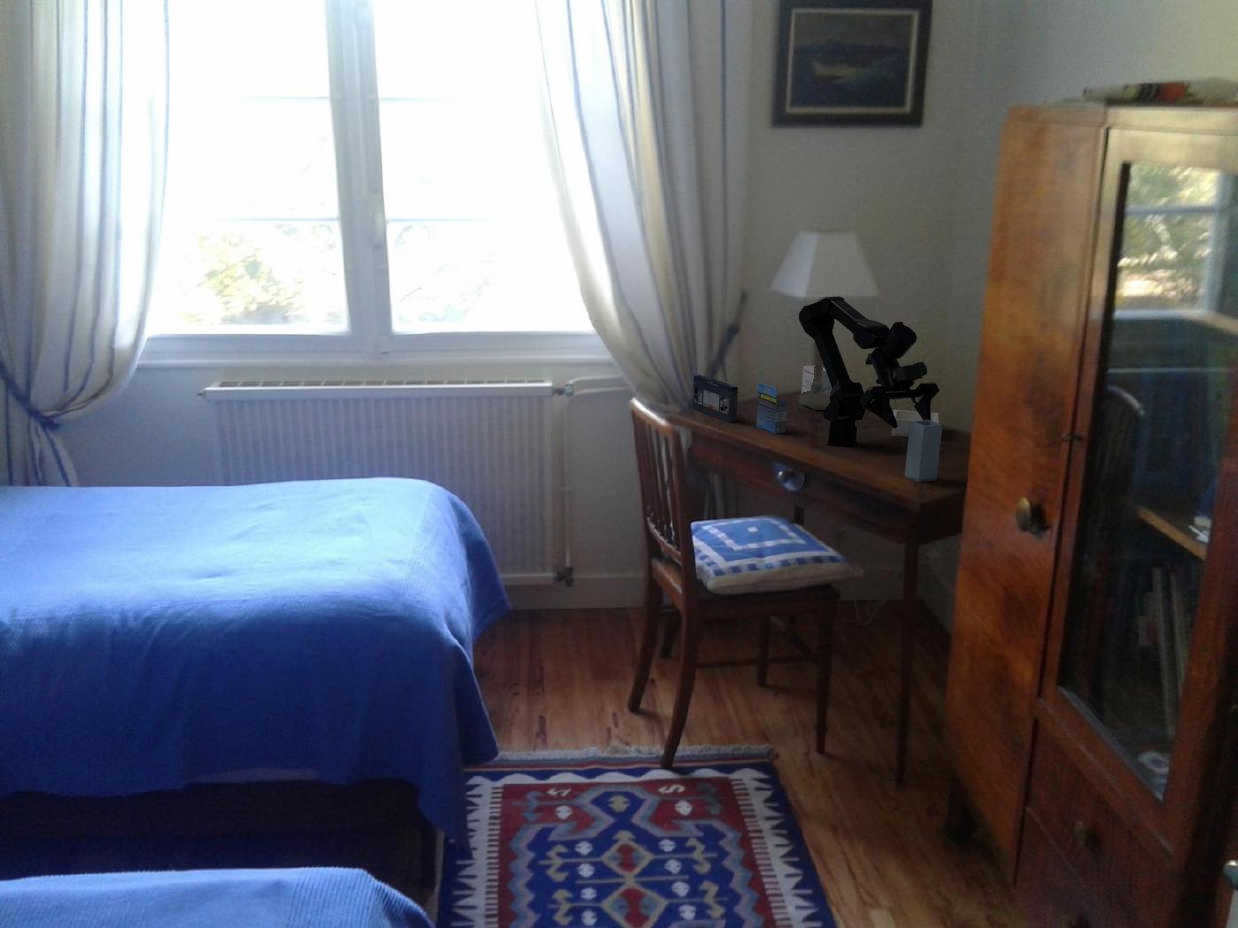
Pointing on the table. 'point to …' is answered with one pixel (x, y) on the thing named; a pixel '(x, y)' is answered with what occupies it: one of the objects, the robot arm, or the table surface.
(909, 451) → the grey hollow square tube
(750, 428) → the table surface
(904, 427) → the cream crate
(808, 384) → the ink box
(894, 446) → the table surface
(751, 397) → the table surface
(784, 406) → the label tape box
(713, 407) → the vhs cassette tape
